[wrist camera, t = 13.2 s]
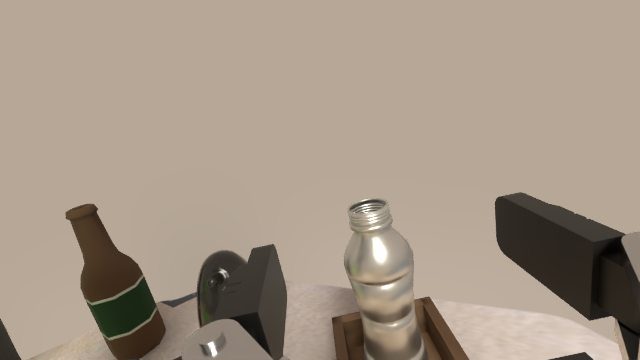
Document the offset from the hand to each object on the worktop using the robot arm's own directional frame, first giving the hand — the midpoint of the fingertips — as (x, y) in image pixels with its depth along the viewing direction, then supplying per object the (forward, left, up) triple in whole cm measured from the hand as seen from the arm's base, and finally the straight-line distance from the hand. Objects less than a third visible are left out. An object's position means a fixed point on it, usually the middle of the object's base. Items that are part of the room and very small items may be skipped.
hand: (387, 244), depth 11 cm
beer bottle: (-36, +32, -26) cm, 55 cm away
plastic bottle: (+2, +16, -25) cm, 30 cm away
